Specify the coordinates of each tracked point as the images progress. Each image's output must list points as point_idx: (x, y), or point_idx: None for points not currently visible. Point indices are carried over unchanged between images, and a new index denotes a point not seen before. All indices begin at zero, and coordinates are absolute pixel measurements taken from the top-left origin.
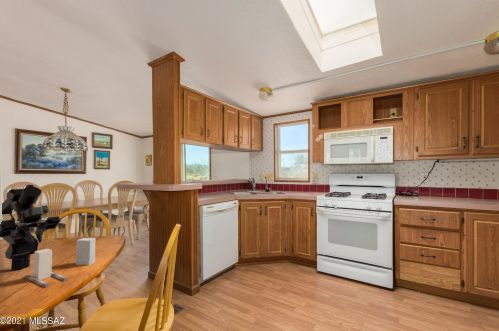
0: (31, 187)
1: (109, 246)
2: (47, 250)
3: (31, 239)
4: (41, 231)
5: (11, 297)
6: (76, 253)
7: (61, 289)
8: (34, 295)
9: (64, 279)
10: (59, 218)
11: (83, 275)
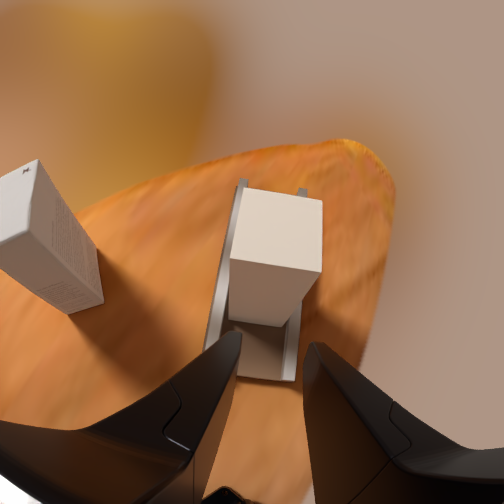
0: None
1: None
2: (261, 210)
3: (339, 362)
4: (169, 406)
5: (372, 256)
6: (72, 271)
7: (272, 175)
8: (331, 207)
9: (247, 181)
10: None
11: (164, 203)
